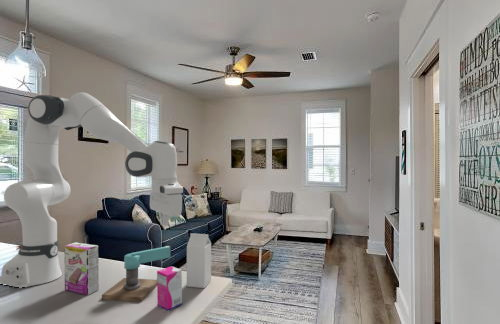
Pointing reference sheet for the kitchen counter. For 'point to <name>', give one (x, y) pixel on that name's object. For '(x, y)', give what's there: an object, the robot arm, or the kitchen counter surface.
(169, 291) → the supplement box
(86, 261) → the candy bar box
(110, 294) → the tan square panel
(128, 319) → the kitchen counter surface
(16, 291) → the kitchen counter surface
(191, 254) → the milk carton
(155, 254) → the teal lever handle
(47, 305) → the kitchen counter surface
